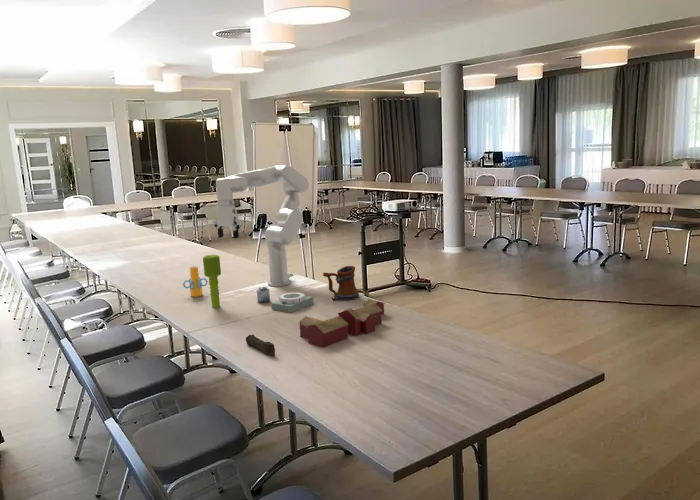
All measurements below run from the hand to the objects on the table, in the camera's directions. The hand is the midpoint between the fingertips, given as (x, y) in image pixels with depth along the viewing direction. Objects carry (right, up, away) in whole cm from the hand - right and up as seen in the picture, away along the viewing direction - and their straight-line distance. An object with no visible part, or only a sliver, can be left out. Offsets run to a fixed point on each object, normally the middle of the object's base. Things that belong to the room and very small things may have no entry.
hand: (228, 237), depth 289 cm
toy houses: (+61, -38, -52) cm, 89 cm away
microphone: (-3, -33, -11) cm, 35 cm away
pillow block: (+34, -32, -18) cm, 50 cm away
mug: (+56, -30, -9) cm, 64 cm away
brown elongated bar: (+28, -44, -71) cm, 88 cm away
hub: (+19, -31, -8) cm, 37 cm away
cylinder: (-19, -30, +11) cm, 37 cm away
